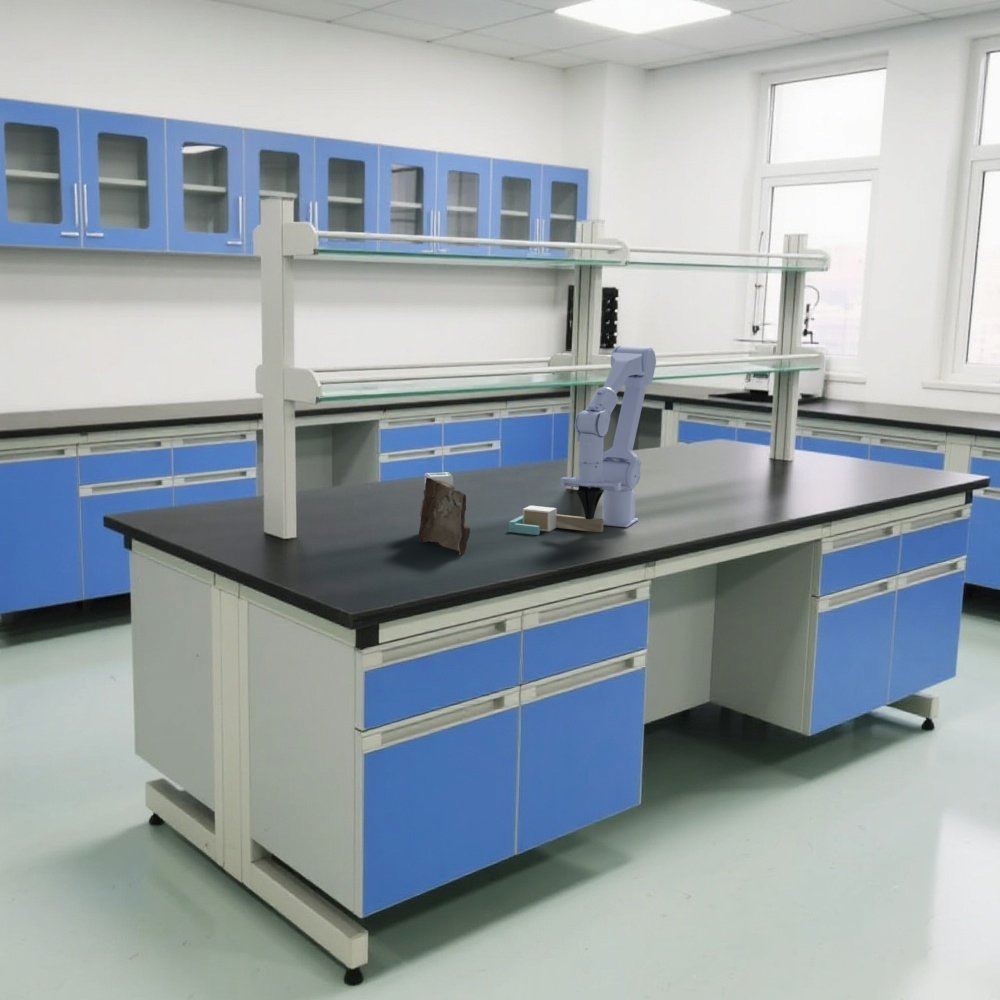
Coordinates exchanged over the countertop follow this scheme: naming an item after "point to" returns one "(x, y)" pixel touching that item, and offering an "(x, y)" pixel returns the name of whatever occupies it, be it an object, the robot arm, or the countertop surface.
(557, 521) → the wall board
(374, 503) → the countertop surface
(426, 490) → the mineral sample
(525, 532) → the teal l-shaped block
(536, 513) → the cabinet block
